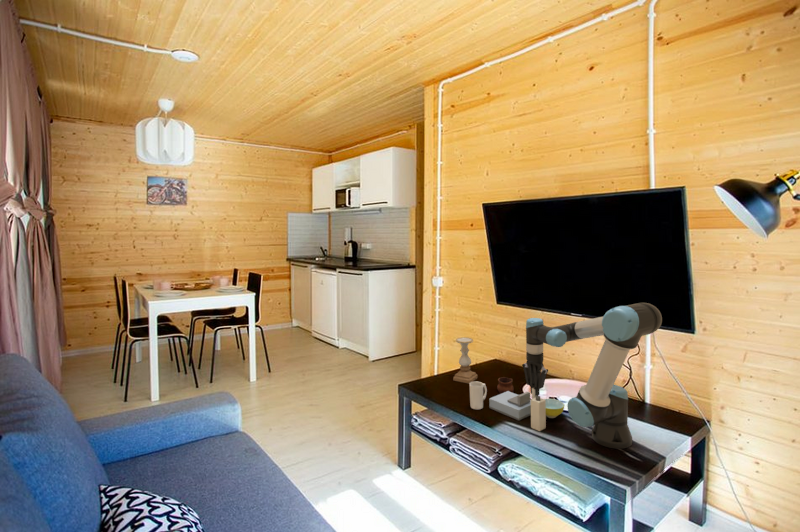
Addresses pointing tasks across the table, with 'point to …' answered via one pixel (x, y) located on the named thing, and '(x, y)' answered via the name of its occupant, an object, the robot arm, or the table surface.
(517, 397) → the grey wedge block
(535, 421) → the beige square bottle
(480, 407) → the mug
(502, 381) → the ceramic pot
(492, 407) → the socket
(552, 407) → the bowl
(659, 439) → the table surface
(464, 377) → the candle holder
